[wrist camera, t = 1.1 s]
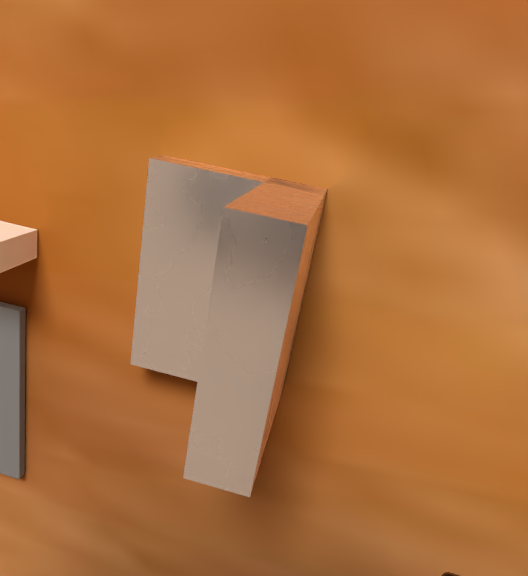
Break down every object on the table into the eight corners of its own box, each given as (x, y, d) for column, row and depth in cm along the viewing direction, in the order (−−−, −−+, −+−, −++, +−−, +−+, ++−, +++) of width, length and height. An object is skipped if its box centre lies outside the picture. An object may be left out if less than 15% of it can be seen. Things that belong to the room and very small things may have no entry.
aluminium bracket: (284, 383, 20) (249, 497, 14) (146, 347, 21) (56, 441, 15) (327, 188, 17) (307, 225, 11) (166, 155, 18) (65, 172, 12)
